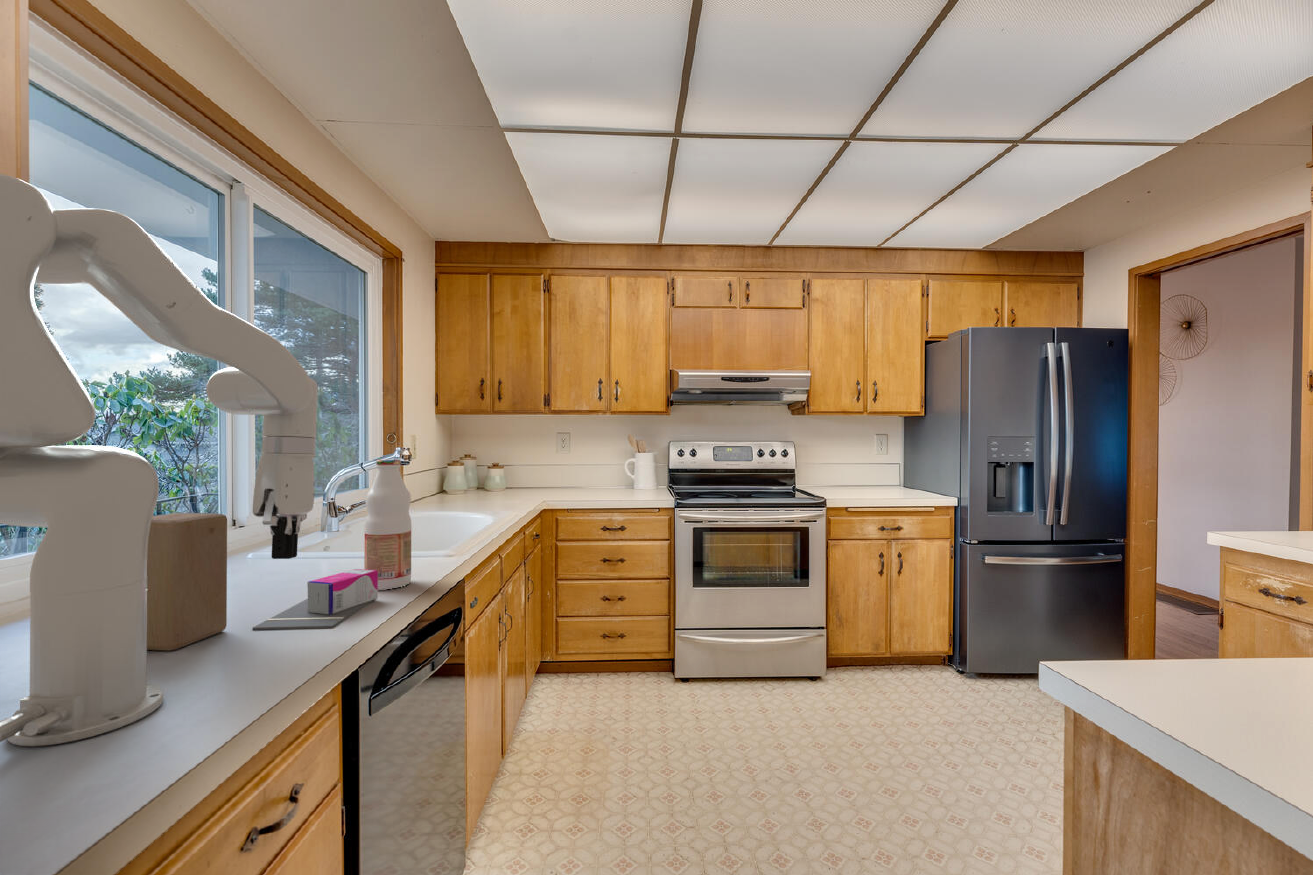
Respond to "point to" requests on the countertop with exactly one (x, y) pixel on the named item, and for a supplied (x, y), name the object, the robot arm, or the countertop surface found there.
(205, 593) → the wooden block
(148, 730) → the countertop surface
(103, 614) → the robot arm
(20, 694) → the countertop surface
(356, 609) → the mat
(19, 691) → the countertop surface
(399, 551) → the fruit juice
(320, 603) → the supplement box
